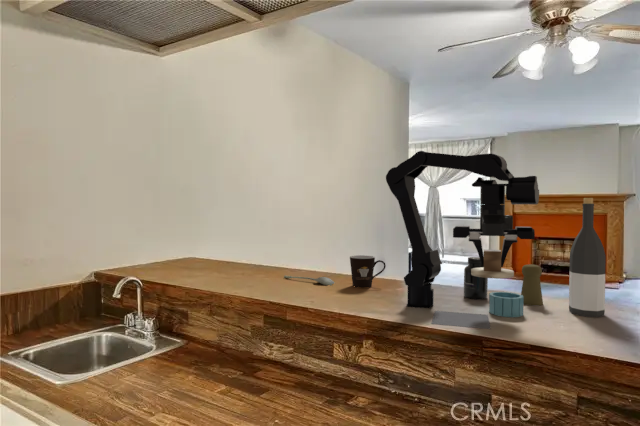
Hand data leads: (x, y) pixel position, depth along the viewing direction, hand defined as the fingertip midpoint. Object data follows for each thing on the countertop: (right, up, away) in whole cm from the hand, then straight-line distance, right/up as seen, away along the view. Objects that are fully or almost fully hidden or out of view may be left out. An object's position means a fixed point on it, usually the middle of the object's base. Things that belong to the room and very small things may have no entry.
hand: (492, 266), depth 111 cm
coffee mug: (-28, -12, +40) cm, 50 cm away
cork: (+17, -13, +15) cm, 26 cm away
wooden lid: (0, -2, 0) cm, 2 cm away
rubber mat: (-9, -13, -3) cm, 16 cm away
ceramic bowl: (+5, -13, +3) cm, 14 cm away
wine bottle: (+26, -13, +4) cm, 29 cm away
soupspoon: (-47, -12, +49) cm, 69 cm away
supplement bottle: (+4, -12, +23) cm, 26 cm away
